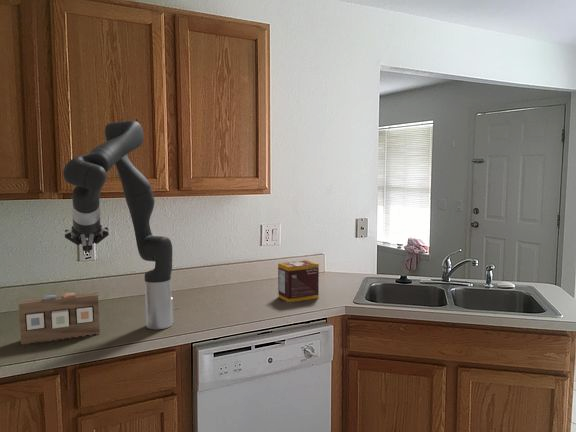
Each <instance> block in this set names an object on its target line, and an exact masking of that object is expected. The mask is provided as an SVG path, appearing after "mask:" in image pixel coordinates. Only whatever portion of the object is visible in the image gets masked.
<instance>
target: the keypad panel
mask: <svg viewBox="0 0 576 432" xmlns="http://www.w3.org/2000/svg"><path fill="white" fill-rule="evenodd" d="M86 306H92V312H93V321H92V322H84V323H77V310H76V308H78V307H86ZM61 309H68V310H69V326H67V327H60V328H52V311H53V310H61ZM36 312H44V314H45V327H44V328H39V329H31V330H27V319H26V315H27V314H28V313H36ZM18 316H19V329H20V345H21V344H27V345H30V344H29V343H34V344H36V343H35V342H41V343H44V342H43V341H48V342H51V341H50V340H55V341H58V340H57V339H62V340H65V339H64V338H69V339H72V338H71V337H75V338H79V337H78V336H82V337H87V336H86V335H89V336H94V335H93V334H96V335H100V334H101V331H100V330H101V329H100V310H99V294H98V291H88V292H79V293H76V292H70V293H63V294H62V295H60V294H59V295H57V294H50V295H43V296H42V297H34V298H33V297H32V298H23V299H20V300H19V302H18ZM99 333H100V334H99Z"/></svg>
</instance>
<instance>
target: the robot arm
mask: <svg viewBox="0 0 576 432" xmlns="http://www.w3.org/2000/svg"><path fill="white" fill-rule="evenodd" d="M104 136H105V140H106V141H105V142H102V143H100V144H98V145H97V146H95V147H94V148H93V149H92V150H91V151H90V152H87V153H83V154H80V155H78V156H75V157H72V158H71V159H70V160H68V162H67V163H66V164H65V165H64V167H63V171H62V176H63V179H64V181H65V182H66V183H68V184H70V185H72V186H75V187H74V188H73V190H72V192H71V193H72V194H71V197H72V208H71V213H72V214H71V217H72V226H71V228H70V229H65V230H64V238H65V239H67V240H68V241H69V242H72V243H73V244H75V245H77V246H80V245H82V251H84V252H85V253H89V252H91V251H92V250H93V244H96V245H97V244H99V243H101V241H103V240H105V239H106V238H107V237H108V236H109V235H110V232H109V228H108V227H102V226H103V225H102V224H101V215H102V214H101V206H100V205H101V204H100V195H101V191H102V189H103V186H104V185H105V183H106V181H107V179H108V178H107V176H108V175H107V173H108V172H109V170H111V168H113V166H114V165H115V167H116V170H117V173H118V176H119V179H120V182H121V183H120V184H121V186H122V190H123V194H124V199H125V202H126V204H127V209H128V210H129V214H130V218H131V221H132V227H133V230H134V236H135V237H134V238H135V241H136V247H137V252H138V254H139V256H140V258H141V259H142V260H143V261H146V262H155V265H154V268H153V269H151V270H149V271H146V272H145V273H144V296H145V301H144V302H145V321H146V323H145V324H146V328H147V329H150V330H163V329H167V328H170V327H172V325H173V324H174V322H175V321H174V319H175V318H174V299H173V297H172V282H171V281H172V279H171V277H172V272H173V244H172V241H171V239H170V238H169V237H167V236H160V235H158V236H157V235H153V233H152V229H151V227H150V226H151V225H150V224H151V223H150V220H151V216H152V213H153V211H154V207H155V197H154V194H153V193H154V192H153V189H152V185H151V183H150V181H149V180H148V179H147V177H145V175H144V174H143V173H141V171H139V169H138V168H136V167H135V165H134V164H133V163H132V162H131V161H130V158H129V157H128V154H130V153H131V152H133V151H135V150H136V149H138V148H140V147H141V146H142V145H143V143H144V139H145V134H144V130H143V127H142V126H141V123H140V122H138V121H136V120H132V119H131V120H123V121H114V122H113V121H112V122H109V123H107V124H106V125H105V127H104Z"/></svg>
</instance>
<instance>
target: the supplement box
mask: <svg viewBox="0 0 576 432" xmlns="http://www.w3.org/2000/svg"><path fill="white" fill-rule="evenodd" d="M277 265H278V266H277V270H278V271H277V275H278V276H277V277H278V278H277V280H278V281H277V283H278V287H277V289H278V293H277V295H278V298H280V299H282V300H283V301H285V302H287V303H294V302H295V303H296V302H301V301H302V302H303V301H308V300H316V299H319V298H320V297H319V291H320V290H319V288H320V287H319V281H320V280H319V277H320V275H319V274H320V272H319V270H320V269H319V266H320V265H319V263H318V262H317V263H316V262H314V261H310V260H309V259H307V260H306V259H305V260H299V261H297V260H296V261H288V262H287V261H286V262H279V263H277Z"/></svg>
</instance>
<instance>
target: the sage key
mask: <svg viewBox="0 0 576 432" xmlns="http://www.w3.org/2000/svg"><path fill="white" fill-rule="evenodd" d="M67 326H69V310H68V309H61V310H53V311H52V328H60V327H67Z"/></svg>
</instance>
